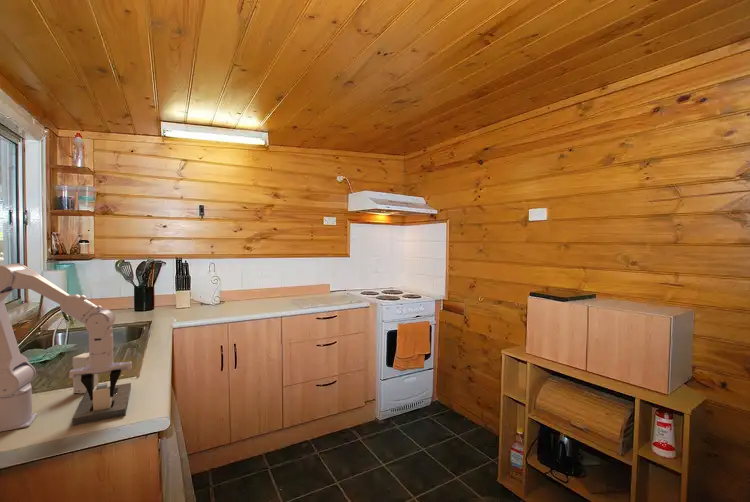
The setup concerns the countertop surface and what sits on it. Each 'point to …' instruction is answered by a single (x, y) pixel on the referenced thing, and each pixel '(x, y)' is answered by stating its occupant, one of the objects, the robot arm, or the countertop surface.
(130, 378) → the countertop surface
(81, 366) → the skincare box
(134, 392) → the countertop surface
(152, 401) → the countertop surface
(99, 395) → the plug
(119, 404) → the panel
